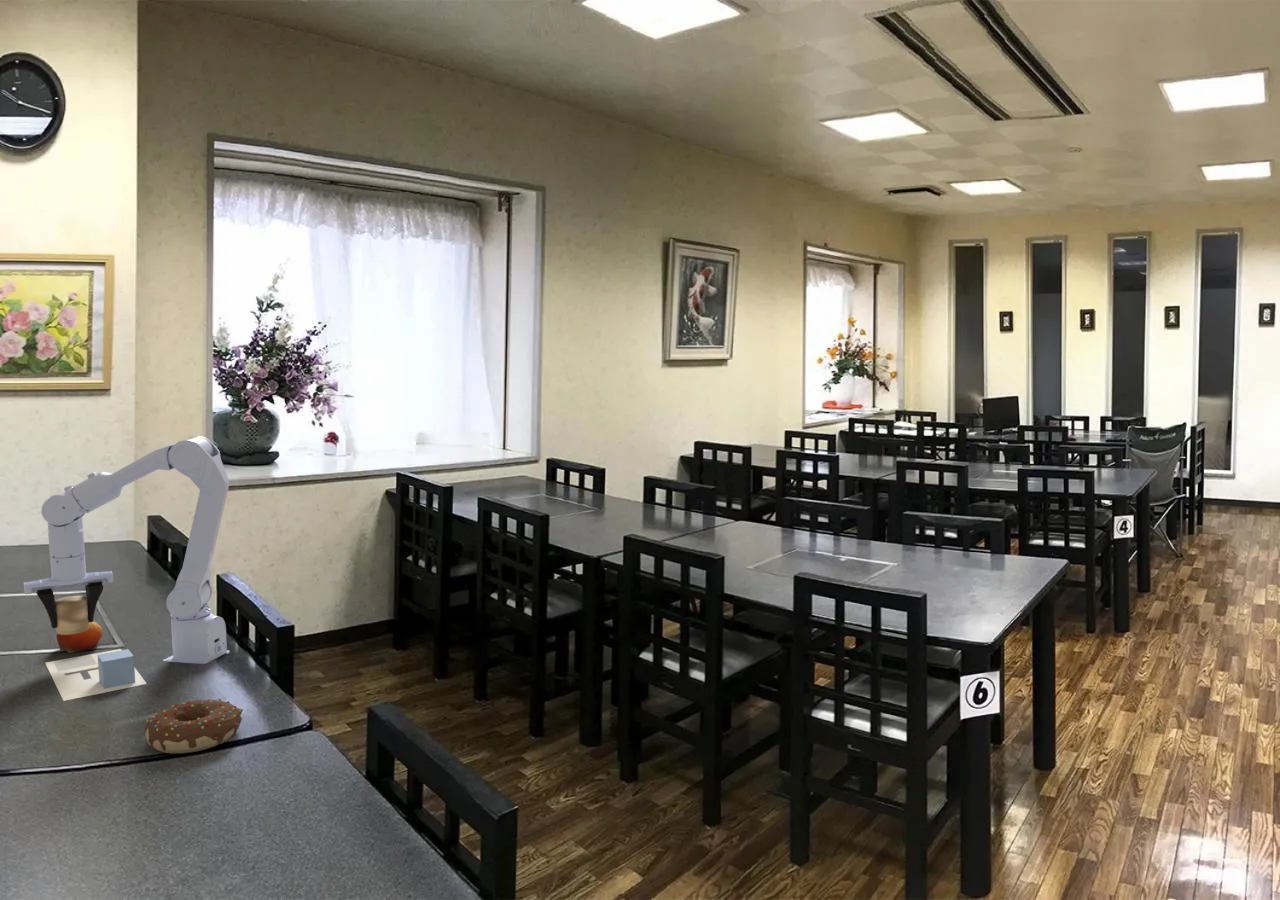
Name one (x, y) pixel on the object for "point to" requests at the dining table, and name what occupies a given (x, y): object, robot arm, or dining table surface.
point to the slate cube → (116, 668)
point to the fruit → (80, 639)
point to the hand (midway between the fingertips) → (72, 624)
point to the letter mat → (82, 677)
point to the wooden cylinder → (71, 615)
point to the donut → (192, 726)
